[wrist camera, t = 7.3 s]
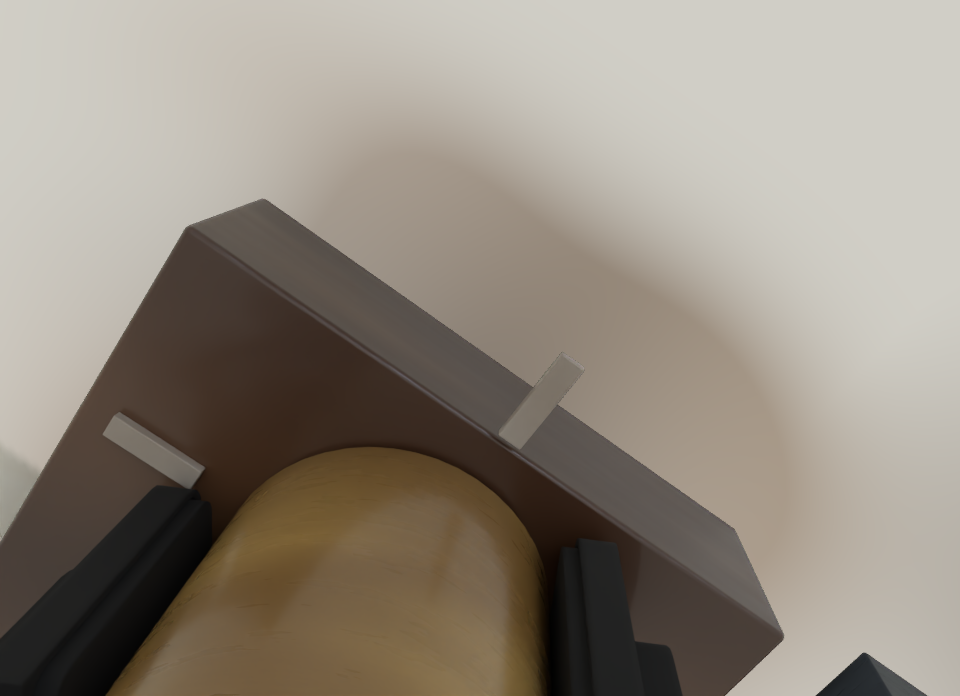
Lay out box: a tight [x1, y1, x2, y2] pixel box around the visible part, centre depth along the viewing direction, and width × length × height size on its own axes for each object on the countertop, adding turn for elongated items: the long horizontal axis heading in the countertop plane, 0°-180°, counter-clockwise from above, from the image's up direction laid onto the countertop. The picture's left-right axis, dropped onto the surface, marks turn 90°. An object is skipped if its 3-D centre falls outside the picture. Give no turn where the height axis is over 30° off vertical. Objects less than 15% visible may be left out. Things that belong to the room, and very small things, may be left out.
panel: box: [0, 199, 784, 696], centre depth 13 cm, size 14×10×3 cm
